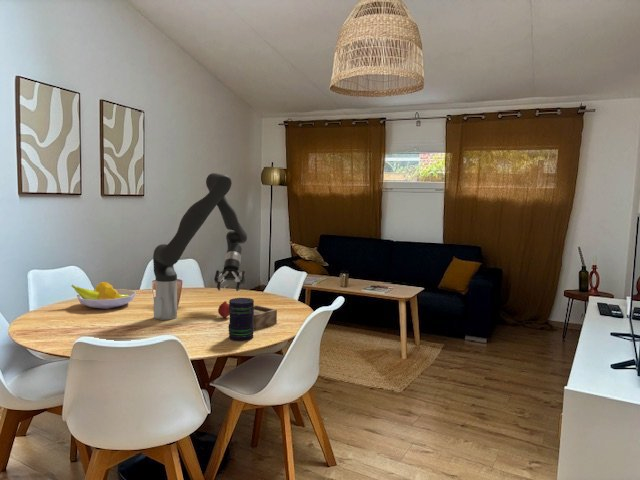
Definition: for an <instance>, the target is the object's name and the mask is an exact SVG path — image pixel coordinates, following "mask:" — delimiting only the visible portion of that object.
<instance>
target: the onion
mask: <svg viewBox="0 0 640 480" xmlns="http://www.w3.org/2000/svg"><path fill="white" fill-rule="evenodd" d="M217 312H218V315H220V316H221V317H222V318H223V319H227V317H228V316H229V317H230V315H229V303H227V300H224V302H222V303H220V305H219V307H218V309H217Z"/></svg>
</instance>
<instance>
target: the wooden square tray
mask: <svg viewBox="0 0 640 480" xmlns="http://www.w3.org/2000/svg"><path fill="white" fill-rule="evenodd" d="M277 315H278V309H276V308H271V307H266V306H261V305H259V304H257V305H256V304H254V314H253V324H254V331H255V330H259V329H263V328H266V327H269V326H272V325H276V324H277V318H278V316H277Z"/></svg>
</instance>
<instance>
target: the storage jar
mask: <svg viewBox="0 0 640 480" xmlns="http://www.w3.org/2000/svg"><path fill="white" fill-rule="evenodd" d="M254 302H255V299H253V298H249V297H235V298H231V299H229V301H228V304H229V322H228V323H229V324H228V339H229V340H231V341H234V342H247V341H250V340H253V339H254V332H255V329H254V324H253V314H254V305H255V304H254Z"/></svg>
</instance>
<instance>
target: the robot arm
mask: <svg viewBox="0 0 640 480" xmlns="http://www.w3.org/2000/svg"><path fill="white" fill-rule="evenodd" d="M205 184H206V188H207V190H208V193H207V194H206V195H205V196H204V197H202V198H200V200H198V201H196V202H195V203H193V204H191V206H190V207H189V208H188V209H187V210H186V212H185V213H184V214H183V216H182V217H181V220H180V222H179V223H178V224H179V225H178V228H177V232H176V233H175V235H174V236H173V237H172V239H171V240H170V241H169V243H168V244H167V243H166V244H165V243H161V244H159V245H157V246H156V247H155V248H154V250H153V255H152V258H153V264H152V265H153V274H154V276H155V277H154V278H155V296H154V297H153V318H154V319H157V320H160V321H163V320H164V321H165V320H166V321H167V320H173V319H176V318H178V275H177V272H176V271H175V269H174V266H175V265H176V264H177V263H179V262H178V261H179V260H180V259H181V257H182V255H183V253H184V252H185V250H186V248H187V247H188V245H189V244H190V242H191V241H192V239H193V238H194V237H195V235H196V234H197V232H198V231H199V230H200V229H201V227H202V226H203V225H204V223H205V222H206V221H207V218H208V217H209V216H210V214H211V213H212V212H213V211H214V210H215V208H216V207H217V208H218V210H219V213H220V216H221V218H222V220H223V223H224V227H225V229H227V230H229V231H228V232H227V233H226V235H225V236H226V237H225V239H226V243H227V250H226V255H225V258H224V265H223V269H222V271H220V270H219V269H217V270H216V271H215V274H214V283H215V284H216V288H217V291H219V292H220V291H221V287H222V284H223V283H224V282H225V281H231V282H232V281H235V283H236V288H235V291H236V292H239V291H240V289H241V285H242V284H243V285H244V284H245V281H246V280H245V279H246V272H245V270H242V271H240V266H241V261H242V259H241V258H242V257H241V256H242V250H243V247H242V246H241V244H244V243H246V242H247V240H248V234H247V232H246V231H245V229H244V228H243V226H242V225H241V223H240V222H239V219H238V216H237V215H238V214H237V213H236V211H235V209H234V208H233V206H232V205H231V203H230V202H229V200H228V198H227V197H226V195H227V194H228V193H229V192H230V189H231V188H232V179H231V177H230V176H229V175H225V174H223V173H217V172H216V173H215V172H212V173H210V174H208V175H207V177H206V180H205ZM239 276H240V277H241V279H240V278H239Z"/></svg>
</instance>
